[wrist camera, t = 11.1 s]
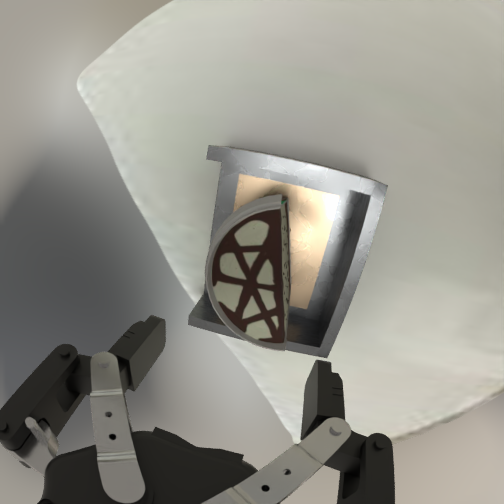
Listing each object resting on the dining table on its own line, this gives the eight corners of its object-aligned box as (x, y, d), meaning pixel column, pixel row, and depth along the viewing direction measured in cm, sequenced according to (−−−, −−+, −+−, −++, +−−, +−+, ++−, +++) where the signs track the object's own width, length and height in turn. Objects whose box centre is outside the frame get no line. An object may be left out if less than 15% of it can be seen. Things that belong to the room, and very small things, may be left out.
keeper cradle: (370, 178, 26) (387, 185, 20) (324, 325, 32) (327, 358, 27) (227, 146, 27) (208, 145, 21) (205, 297, 34) (188, 324, 28)
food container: (225, 185, 27) (187, 204, 18) (287, 182, 26) (279, 198, 17) (237, 295, 31) (211, 351, 22) (291, 296, 30) (285, 356, 21)
